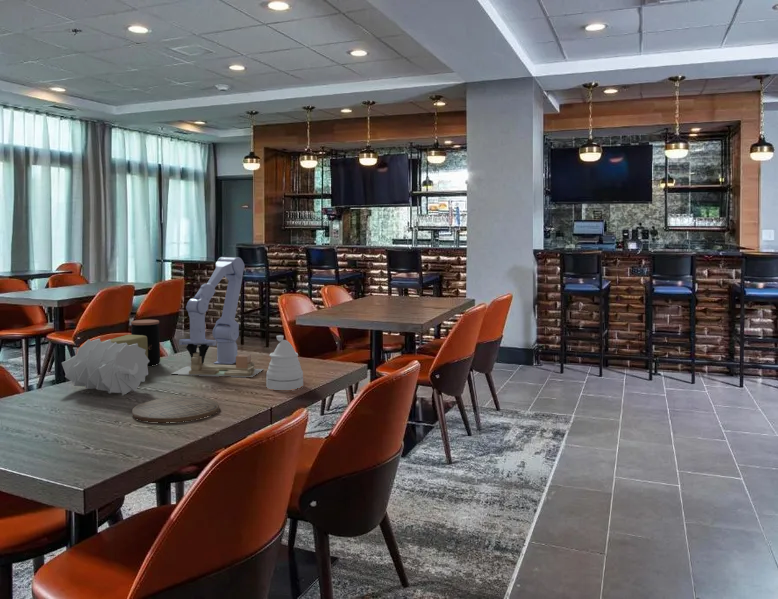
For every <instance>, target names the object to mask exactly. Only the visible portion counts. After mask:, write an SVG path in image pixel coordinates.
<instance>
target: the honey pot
mask: <svg viewBox="0 0 778 599" xmlns="http://www.w3.org/2000/svg"><path fill="white" fill-rule="evenodd" d="M276 340H277V341H278V342H279V343H278V344H277V345H276V347H275V349H274V351H273V352H271V353H270V354H269V356H268V357H270V362H269V363H268V364H269V365H268V368H267V371H266V372H265V373H266V374H265V375H266V379H265V380H266V381H265V382H266V384H265V386H266V387H267V388H269V389H274V390H291V389H297V388H300V387H301V386H303V387H304V372H303V369H302V365H301V362H300V361H299V358H298V357H299V354H298V352H296V350H295V348H294V347H293V345H292V344H291V343H290V341H288V340H287V339H284V335H282V334H281V335H280V334H279V335H276ZM267 388H266V389H267ZM269 389H268V390H269Z"/></svg>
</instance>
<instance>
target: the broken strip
mask: <svg viewBox="0 0 778 599" xmlns="http://www.w3.org/2000/svg"><path fill="white" fill-rule="evenodd" d="M190 361H191V362H190V367H191V370H190V371H189V374H208V375H215V374H216V373H218V372H219V369H202V358H201V356H195V357H192V358H191V357H190ZM254 369H255V366H254V367H250V368H248V369H247V370H228V371H226V372H224V375H235V376H251V375H252V374H254Z"/></svg>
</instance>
